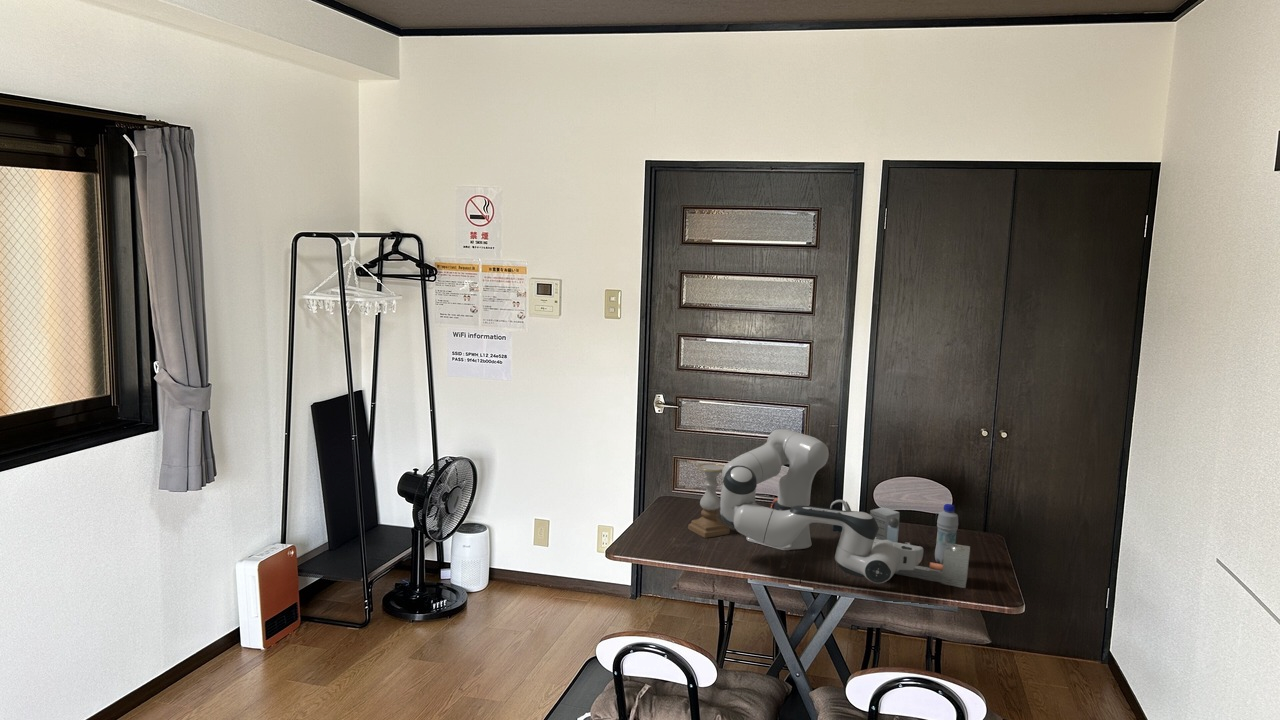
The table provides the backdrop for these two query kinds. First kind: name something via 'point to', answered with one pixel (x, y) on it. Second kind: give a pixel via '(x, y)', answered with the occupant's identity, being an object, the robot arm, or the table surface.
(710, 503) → the candle holder
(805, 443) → the robot arm
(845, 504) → the watch
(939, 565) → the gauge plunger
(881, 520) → the supplement box
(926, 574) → the grey slide rail
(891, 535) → the ball-topped pillar
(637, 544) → the table surface
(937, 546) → the bottle
